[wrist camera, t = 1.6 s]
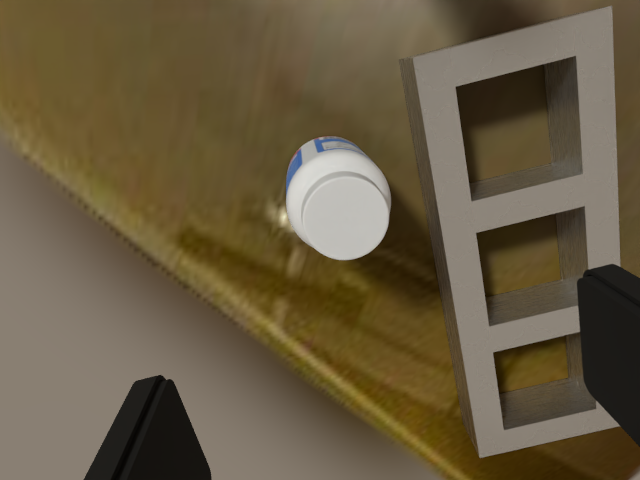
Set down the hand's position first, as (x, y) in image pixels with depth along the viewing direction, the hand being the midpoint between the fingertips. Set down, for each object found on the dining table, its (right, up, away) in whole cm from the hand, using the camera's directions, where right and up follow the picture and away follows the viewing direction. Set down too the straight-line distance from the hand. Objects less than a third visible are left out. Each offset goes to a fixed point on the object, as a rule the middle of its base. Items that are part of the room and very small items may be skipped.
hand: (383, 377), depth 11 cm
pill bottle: (-1, +7, +20) cm, 21 cm away
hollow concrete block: (+12, +3, +22) cm, 25 cm away
